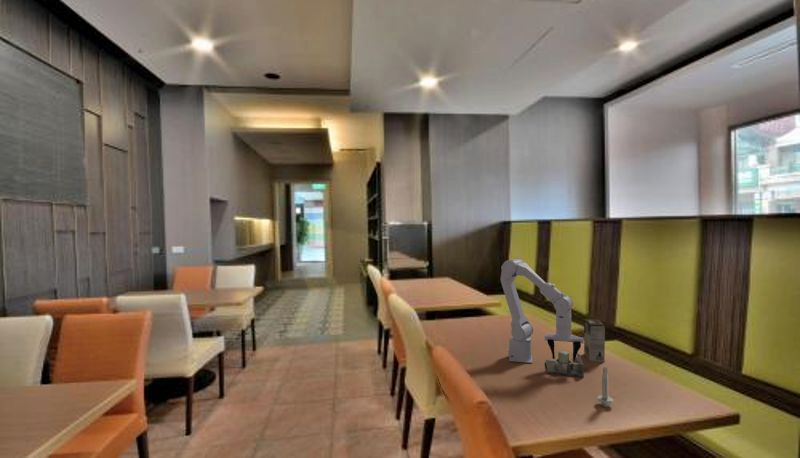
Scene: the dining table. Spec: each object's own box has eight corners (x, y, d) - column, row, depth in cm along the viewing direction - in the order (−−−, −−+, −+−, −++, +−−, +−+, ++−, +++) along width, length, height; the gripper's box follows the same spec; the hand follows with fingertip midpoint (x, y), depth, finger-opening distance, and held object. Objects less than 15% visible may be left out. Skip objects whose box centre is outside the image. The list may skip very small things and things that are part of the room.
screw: (597, 407, 123) (596, 400, 127) (614, 410, 121) (612, 403, 126) (597, 368, 122) (596, 362, 127) (614, 370, 121) (612, 364, 125)
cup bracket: (547, 373, 149) (547, 361, 149) (545, 362, 161) (545, 350, 161) (583, 377, 145) (583, 364, 145) (579, 365, 157) (579, 353, 156)
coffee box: (583, 353, 170) (583, 318, 169) (598, 354, 169) (598, 319, 168) (589, 361, 161) (589, 324, 160) (605, 362, 160) (605, 325, 159)
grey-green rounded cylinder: (558, 368, 152) (558, 353, 151) (558, 364, 155) (558, 350, 155) (569, 370, 150) (569, 355, 150) (569, 366, 154) (569, 351, 154)
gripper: (545, 327, 151) (545, 360, 151) (584, 330, 146) (584, 364, 147) (544, 322, 157) (544, 354, 158) (582, 325, 153) (582, 357, 153)
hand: (563, 358), depth 153 cm, fingers open, 7 cm apart
